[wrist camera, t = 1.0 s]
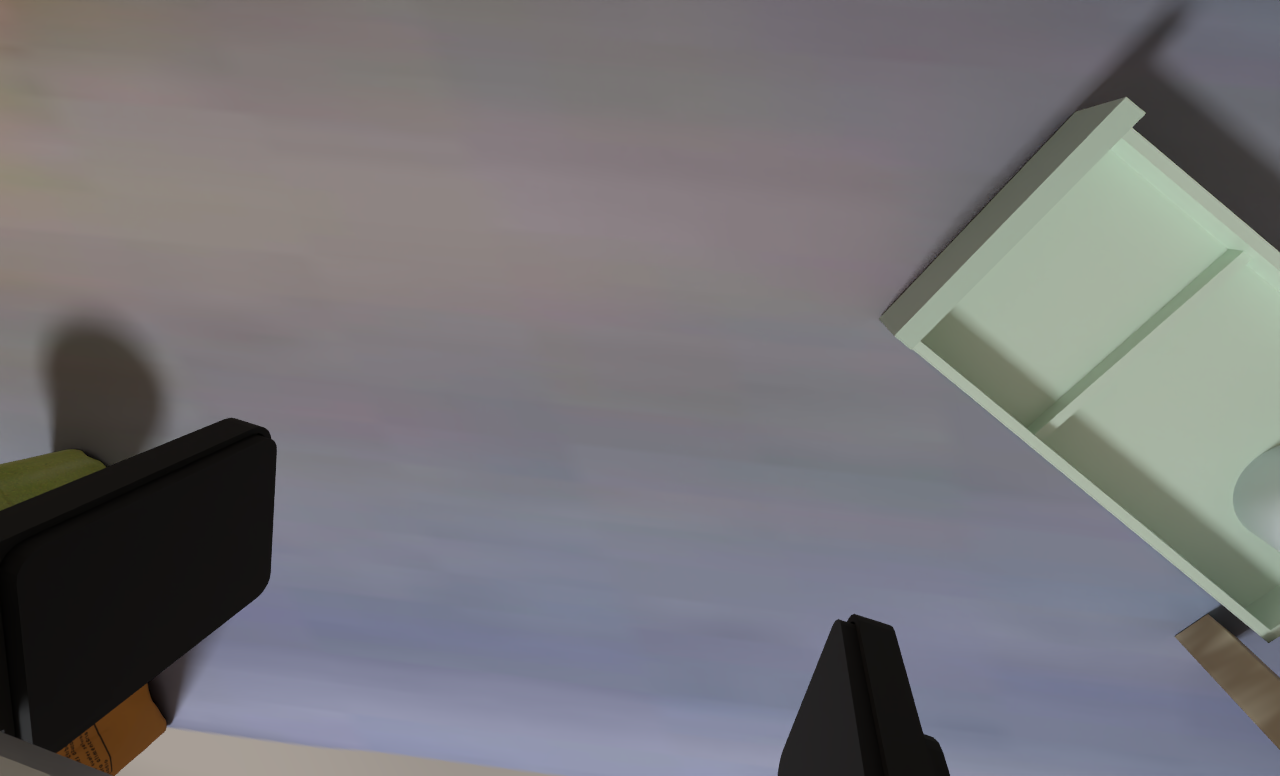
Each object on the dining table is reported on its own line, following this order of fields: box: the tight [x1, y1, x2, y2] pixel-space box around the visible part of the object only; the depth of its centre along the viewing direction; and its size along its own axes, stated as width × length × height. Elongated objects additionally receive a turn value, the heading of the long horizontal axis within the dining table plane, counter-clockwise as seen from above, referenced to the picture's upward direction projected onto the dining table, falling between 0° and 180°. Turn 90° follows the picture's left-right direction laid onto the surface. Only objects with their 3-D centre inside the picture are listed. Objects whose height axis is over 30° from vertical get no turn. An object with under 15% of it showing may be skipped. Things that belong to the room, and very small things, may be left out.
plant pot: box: [0, 449, 106, 511], centre depth 43 cm, size 9×9×9 cm
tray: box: [879, 97, 1280, 643], centre depth 29 cm, size 12×24×4 cm, turn 52°
